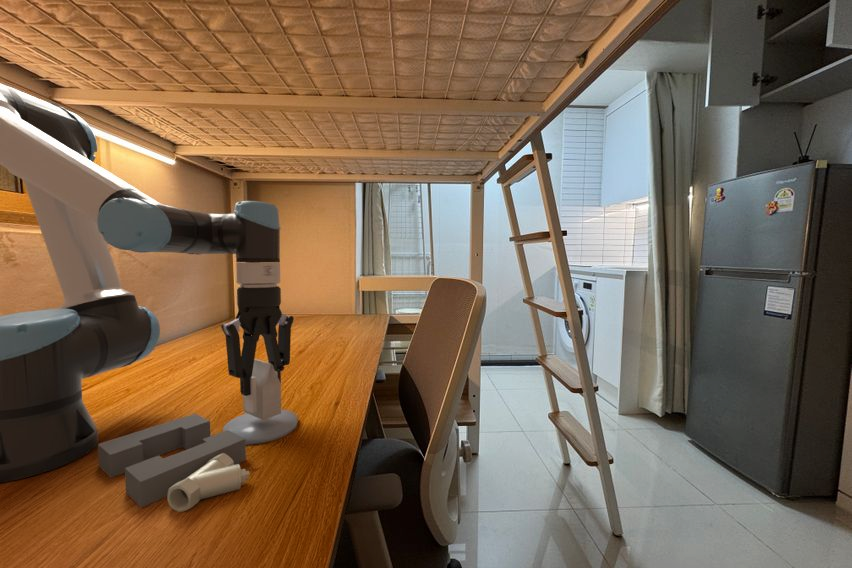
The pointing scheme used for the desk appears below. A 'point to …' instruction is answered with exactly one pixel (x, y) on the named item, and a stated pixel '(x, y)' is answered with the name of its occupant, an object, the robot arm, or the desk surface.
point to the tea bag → (266, 391)
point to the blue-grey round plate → (262, 427)
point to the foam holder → (159, 474)
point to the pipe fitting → (207, 483)
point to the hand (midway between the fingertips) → (261, 406)
